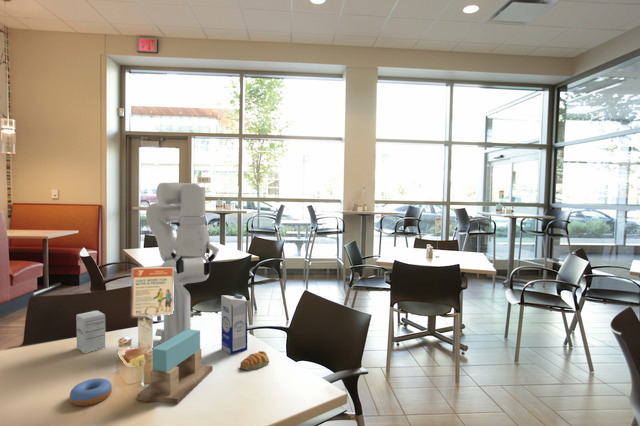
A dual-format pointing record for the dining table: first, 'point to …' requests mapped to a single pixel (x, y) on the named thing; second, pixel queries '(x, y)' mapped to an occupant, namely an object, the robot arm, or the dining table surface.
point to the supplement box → (90, 331)
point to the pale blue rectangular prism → (175, 350)
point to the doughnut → (90, 392)
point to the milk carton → (234, 323)
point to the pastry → (255, 361)
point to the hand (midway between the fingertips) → (193, 273)
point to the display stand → (176, 381)
